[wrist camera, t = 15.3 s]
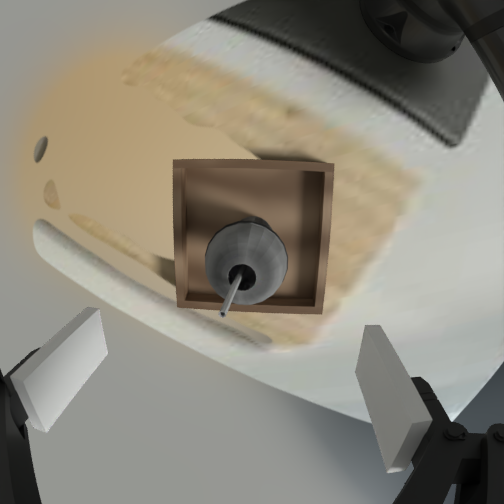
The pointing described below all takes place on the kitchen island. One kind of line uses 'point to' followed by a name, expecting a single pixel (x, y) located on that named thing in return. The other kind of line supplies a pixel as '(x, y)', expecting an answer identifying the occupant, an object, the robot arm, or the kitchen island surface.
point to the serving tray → (261, 205)
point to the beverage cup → (245, 262)
